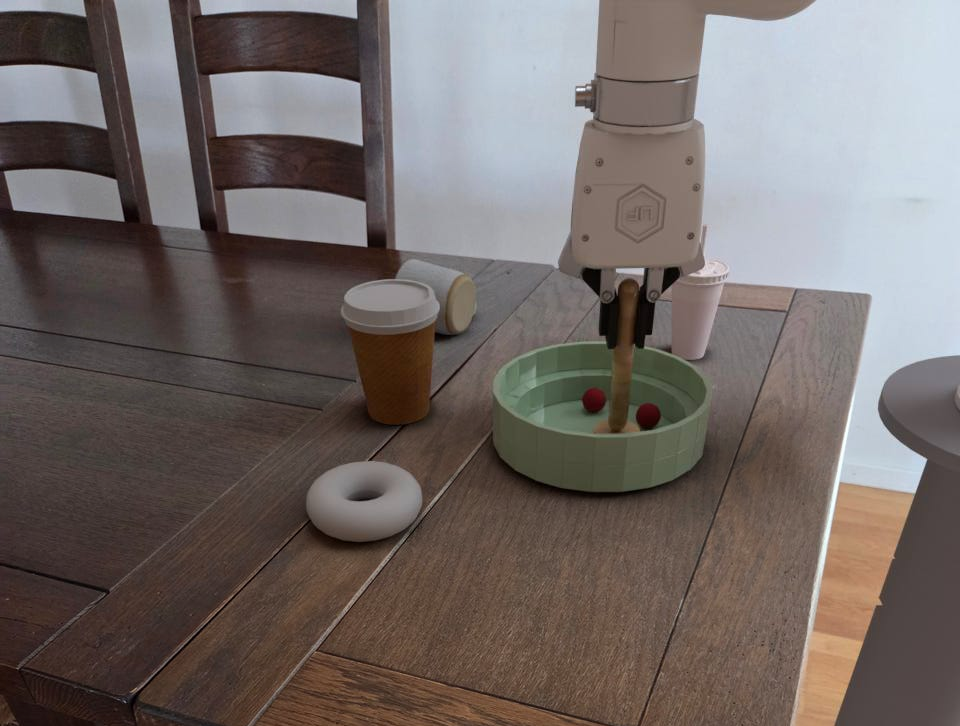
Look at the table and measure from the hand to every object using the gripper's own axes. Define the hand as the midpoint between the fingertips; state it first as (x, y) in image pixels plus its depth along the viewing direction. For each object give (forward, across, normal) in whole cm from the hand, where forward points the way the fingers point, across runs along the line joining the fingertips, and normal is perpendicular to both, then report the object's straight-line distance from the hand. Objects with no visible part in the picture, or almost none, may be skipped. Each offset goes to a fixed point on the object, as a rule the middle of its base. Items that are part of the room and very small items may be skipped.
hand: (624, 341), depth 78 cm
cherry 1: (+9, -2, +7) cm, 12 cm away
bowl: (+11, -2, +2) cm, 11 cm away
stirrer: (+10, 0, 0) cm, 10 cm away
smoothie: (+11, +10, +22) cm, 27 cm away
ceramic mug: (+11, -18, +32) cm, 38 cm away
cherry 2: (+9, +3, +4) cm, 10 cm away
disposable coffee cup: (+11, -22, +9) cm, 26 cm away
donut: (+11, -23, -11) cm, 28 cm away
